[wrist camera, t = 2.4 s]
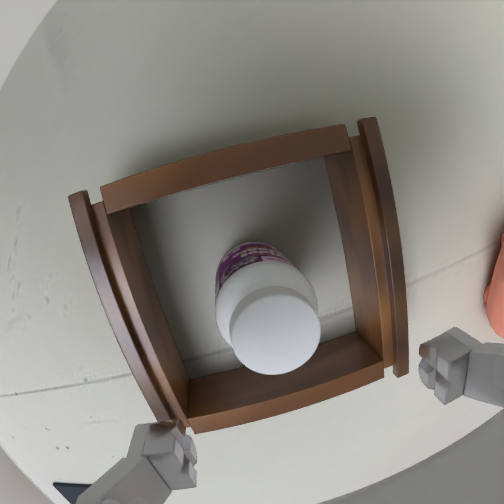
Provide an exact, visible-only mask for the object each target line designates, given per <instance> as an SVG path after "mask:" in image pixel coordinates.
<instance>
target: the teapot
mask: <svg viewBox="0 0 504 504" xmlns="http://www.w3.org/2000/svg"><path fill="white" fill-rule="evenodd" d="M484 301H485V303H486V304H487V316H488V319H489V322H490V324H491V327H492V329H493V330H494V331H495V333H496V334H498V335H499V336H501V337H503V338H504V233H503V235H502V237H501V250H500V253H499V256H498V259H497V262H496V265H495V269H494V272H493V276H492V281H491V284H489V285H488V287H487V288H486V291H485V294H484Z"/></svg>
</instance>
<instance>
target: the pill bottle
mask: <svg viewBox="0 0 504 504" xmlns="http://www.w3.org/2000/svg"><path fill="white" fill-rule="evenodd" d="M215 286H216V289H215V318H216V321H217V325H218V328H219V331H220V333H221V335H222V337H223V338H224V339H225V341H226V342H227V343H228V344H229V345H230V346H231V347H232V348H233V350H234V352H235V354H236V356H237V358H238V359H239V360H240V361H241V362H242V363H243V364H244V365H245V366H246V367H248V368H249V369H251V370H253V371H255V372H258V373H262V374H269V375H276V374H283V373H287V372H290V371H292V370H294V369H296V368H298V367H300V366H301V365H303V364H304V363H305V362H306V361H307V360H309V359H310V357H311V356H312V355H313V354H314V352H315V350H316V348H317V347H318V344H319V341H320V336H321V325H320V320H319V317H318V303H317V297H316V294H315V291H314V289H313V287H312V285H311V283H310V282H309V280H308V279H307V278H306V277H305V276H304V275H303V274H302V273H301V271H300V270H299V269H298V268H296V267H295V265H294V264H292V262H290V260H289V259H288V258H287V257H286V256H285V255H284V254H283V253H281V252H280V251H279V250H278V249H276V248H275V247H273V246H271V245H269V244H266V243H262V242H246V243H243V244H240V245H238V246H236V247H234V248H232V249H231V250H230V251H229V252H227V253H226V255H225V256H224V257H223V258H222V260H221V262H220V264H219V266H218V269H217V273H216V285H215Z"/></svg>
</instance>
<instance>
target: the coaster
mask: <svg viewBox="0 0 504 504" xmlns="http://www.w3.org/2000/svg"><path fill="white" fill-rule="evenodd" d="M53 486H54V487H55V488H56V489H57V490H58V491H59V492H60V493H61V494H62V495H63V496H64V497H65V498H66V499H67V500H68V501H69V502H70V503H71V504H76V501H77V498H78V496H79V495H80V494H82V493H83V492H84V491H85V490H86V489H88V488H89V487H90V486H91V485H81V484H64V483H53Z"/></svg>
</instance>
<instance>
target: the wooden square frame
mask: <svg viewBox="0 0 504 504" xmlns="http://www.w3.org/2000/svg"><path fill="white" fill-rule="evenodd" d="M357 125H358V129H359V133H360V135H358V136H352V137H348V133H347V129H346V126H345V124H340V125H333V126H327V127H322V128H316V129H310V130H305V131H300V132H295V133H290V134H285V135H280V136H275V137H270V138H266V139H261V140H257V141H253V142H248V143H244V144H240V145H236V146H232V147H228V148H224V149H220V150H216V151H212V152H209V153H205V154H201V155H198V156H194V157H190V158H187V159H183V160H180V161H177V162H173V163H170V164H167V165H163V166H160V167H157V168H154V169H151V170H147V171H144V172H141V173H138V174H135V175H132V176H129V177H126V178H123V179H120V180H118V181H115V182H112V183H109V184H106V185H104V186H101V187H100V190H101V194H102V198H103V201H101V202H99V203H96V204H93V205H91V203H90V199H89V195H88V191H87V190H82V191H79V192H77V193H74V194H72V195H69V196H68V199H69V203H70V207H71V210H72V214H73V218H74V221H75V225H76V228H77V232H78V235H79V238H80V242H81V245H82V248H83V251H84V254H85V257H86V261H87V264H88V266H89V269H90V272H91V275H92V278H93V281H94V284H95V286H96V289H97V292H98V294H99V297H100V300H101V302H102V305H103V307H104V310H105V312H106V315H107V317H108V320H109V322H110V325H111V327H112V329H113V332H114V334H115V336H116V339H117V341H118V343H119V345H120V348H121V350H122V352H123V354H124V356H125V359H126V361H127V363H128V365H129V367H130V369H131V371H132V373H133V375H134V377H135V379H136V381H137V383H138V385H139V387H140V389H141V391H142V393H143V395H144V397H145V399H146V401H147V402H148V404H149V406H150V408H151V410H152V412H153V413H154V415H155V417H156V419H157V421H158V422H162V421H169V420H177V419H180V420H182V422H183V424H184V425H185V427H191V428H192V429H193V431H194V433H195V434H198V433H204V432H209V431H214V430H219V429H224V428H228V427H233V426H237V425H241V424H245V423H250V422H254V421H257V420H261V419H265V418H269V417H272V416H276V415H280V414H283V413H287V412H290V411H293V410H297V409H300V408H303V407H306V406H309V405H312V404H315V403H318V402H321V401H324V400H327V399H330V398H333V397H336V396H338V395H341V394H344V393H347V392H349V391H352V390H354V389H357V388H360V387H362V386H365V385H367V384H370V383H372V382H375V381H377V380H379V379H382V378H384V368H387V367H389V366H392V365H393V374H394V375H395V376H396V377H397V378H399V377H401V376H404V375H406V374H408V373H409V344H408V316H407V300H406V286H405V275H404V265H403V256H402V248H401V240H400V233H399V226H398V219H397V213H396V207H395V201H394V195H393V190H392V185H391V179H390V174H389V170H388V165H387V160H386V156H385V151H384V147H383V143H382V139H381V135H380V131H379V127H378V123H377V119H376V117H368V118H362V119H359V120H357ZM323 157H324V159H325V163H326V168H327V172H328V176H329V180H330V185H331V189H332V194H333V198H334V203H335V208H336V212H337V217H338V222H339V227H340V232H341V238H342V243H343V248H344V254H345V259H346V265H347V271H348V277H349V283H350V290H351V296H352V303H353V310H354V317H355V325H356V332H354V333H351V334H348V335H345V336H343V337H340V338H337V339H334V340H331V341H328V342H325V343H322V344H319V345H318V347H317V348H316V350H315V352H314V354H313V355H312V356H311V357H310V359H309V360H307V361H306V362H305V363H304V364H303V365H301V366H300V367H298V368H296V369H294V370H292V371H290V372H287V373H283V374H276V375H269V374H262V373H258V372H255V371H253V370H251V369H249V368H248V367H246V366H245V367H241V368H238V369H234V370H230V371H226V372H222V373H218V374H214V375H209V376H205V377H201V378H196V379H192V380H190V378H189V376H188V374H187V371H186V369H185V367H184V364H183V362H182V359H181V357H180V355H179V352H178V350H177V347H176V345H175V342H174V340H173V337H172V334H171V332H170V329H169V327H168V324H167V321H166V319H165V316H164V313H163V311H162V308H161V305H160V302H159V300H158V297H157V294H156V291H155V288H154V285H153V282H152V279H151V276H150V273H149V270H148V267H147V264H146V261H145V258H144V255H143V252H142V249H141V246H140V242H139V239H138V236H137V232H136V229H135V226H134V222H133V219H132V215H131V212H130V208H133V207H136V206H139V205H142V204H146V203H149V202H152V201H155V200H159V199H162V198H165V197H168V196H172V195H175V194H179V193H182V192H185V191H189V190H192V189H196V188H199V187H203V186H207V185H210V184H214V183H218V182H221V181H225V180H229V179H233V178H236V177H240V176H244V175H248V174H252V173H256V172H260V171H265V170H269V169H273V168H277V167H281V166H286V165H290V164H295V163H299V162H304V161H308V160H313V159H318V158H323Z"/></svg>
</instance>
